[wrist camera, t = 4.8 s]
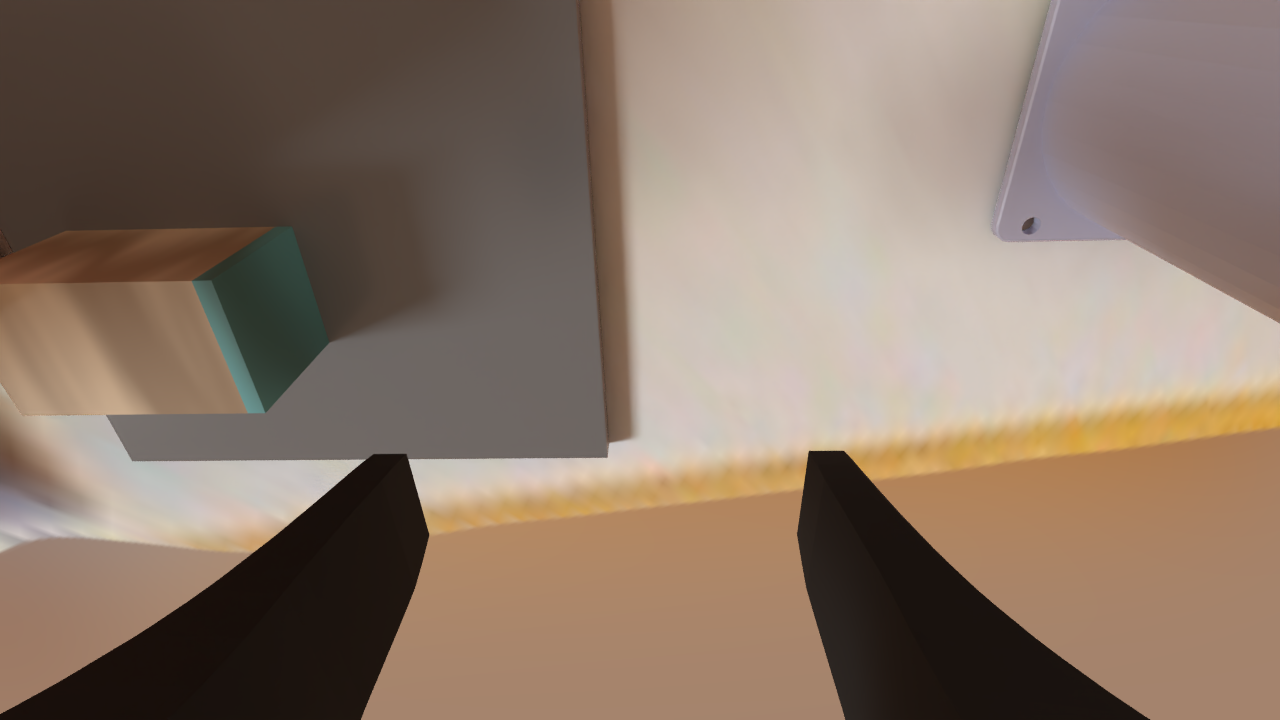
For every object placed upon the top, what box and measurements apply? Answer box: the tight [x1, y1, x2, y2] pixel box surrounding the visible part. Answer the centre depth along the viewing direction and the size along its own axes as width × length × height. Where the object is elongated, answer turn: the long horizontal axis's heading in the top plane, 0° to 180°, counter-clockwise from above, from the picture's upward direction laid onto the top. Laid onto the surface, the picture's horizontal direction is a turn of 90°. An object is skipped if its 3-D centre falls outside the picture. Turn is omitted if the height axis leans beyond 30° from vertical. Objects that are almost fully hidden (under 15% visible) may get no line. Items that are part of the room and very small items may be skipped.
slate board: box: [0, 0, 609, 461], centre depth 20 cm, size 18×16×1 cm
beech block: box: [0, 226, 329, 416], centre depth 18 cm, size 4×4×7 cm
